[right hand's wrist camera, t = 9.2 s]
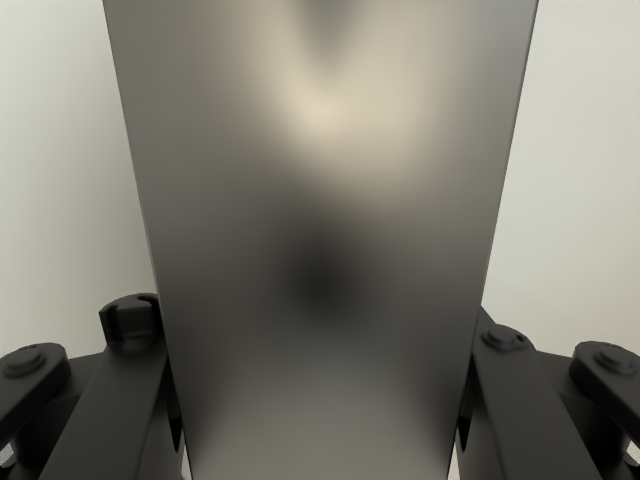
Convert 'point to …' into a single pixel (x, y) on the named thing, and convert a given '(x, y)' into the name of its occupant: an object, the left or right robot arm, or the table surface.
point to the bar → (320, 219)
